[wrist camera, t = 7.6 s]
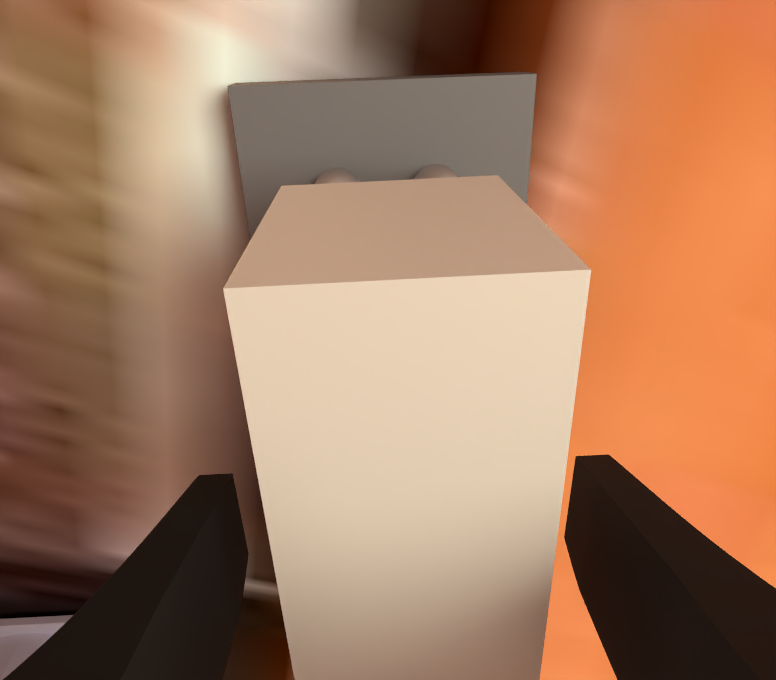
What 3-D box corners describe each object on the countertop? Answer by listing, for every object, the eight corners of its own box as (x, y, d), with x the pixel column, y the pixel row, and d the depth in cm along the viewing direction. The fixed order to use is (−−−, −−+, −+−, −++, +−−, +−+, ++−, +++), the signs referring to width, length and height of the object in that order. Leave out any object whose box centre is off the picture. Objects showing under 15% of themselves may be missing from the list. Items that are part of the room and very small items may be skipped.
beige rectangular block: (281, 185, 11) (223, 288, 6) (497, 175, 11) (591, 269, 6) (331, 596, 16) (319, 813, 11) (478, 587, 16) (524, 800, 11)
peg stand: (496, 508, 21) (528, 621, 17) (297, 518, 20) (280, 634, 16) (525, 71, 14) (589, 83, 10) (236, 82, 14) (185, 100, 10)
